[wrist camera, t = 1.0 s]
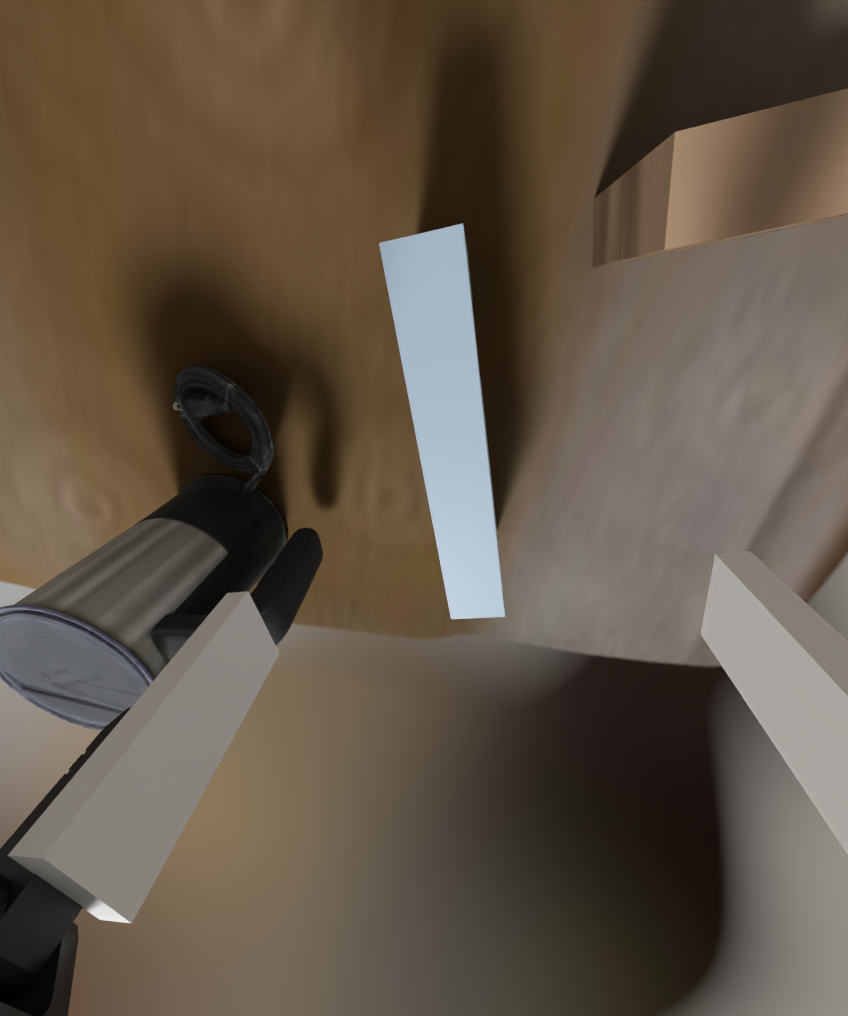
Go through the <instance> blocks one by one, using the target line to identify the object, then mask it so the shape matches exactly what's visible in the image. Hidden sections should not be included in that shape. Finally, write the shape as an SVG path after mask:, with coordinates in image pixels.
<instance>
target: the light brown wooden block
mask: <svg viewBox="0 0 848 1016" xmlns="http://www.w3.org/2000/svg"><path fill="white" fill-rule="evenodd" d="M845 216H848V88H847V89H843V90H839V91H835V92H831V93H827V94H823V95H819V96H815V97H811V98H807V99H803V100H799V101H795V102H791V103H788V104H784V105H780V106H776V107H772V108H768V109H764V110H760V111H756V112H752V113H748V114H744V115H740V116H736V117H732V118H728V119H724V120H720V121H716V122H712V123H709V124H705V125H701V126H697V127H693V128H689V129H685V130H681V131H677V132H674V133H673V134H672V135H671V136H670V137H668V138H667V139H666V140H665V141H664V142H662V143H661V144H660V145H659V146H657V147H656V148H655V149H654V150H653V151H651V152H650V153H649V154H648V155H646V156H645V157H644V158H643V159H642V160H640V161H639V162H638V163H637V164H636V165H634V166H633V167H632V168H631V169H629V170H628V171H627V172H626V173H625V174H623V175H622V176H621V177H620V178H619V179H617V180H616V181H615V182H614V183H612V184H611V185H610V186H609V187H608V188H606V189H605V190H604V191H603V192H601V193H600V194H599V195H598V196H597V197H595V199H594V248H593V267H597V266H602V265H607V264H612V263H617V262H622V261H627V260H632V259H637V258H642V257H647V256H652V255H657V254H662V253H667V252H672V251H677V250H682V249H687V248H692V247H696V246H701V245H706V244H711V243H716V242H721V241H726V240H731V239H736V238H741V237H746V236H751V235H756V234H761V233H766V232H771V231H776V230H781V229H786V228H791V227H796V226H801V225H805V224H810V223H815V222H820V221H825V220H830V219H835V218H840V217H845Z"/></svg>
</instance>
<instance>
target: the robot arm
mask: <svg viewBox="0 0 848 1016" xmlns="http://www.w3.org/2000/svg"><path fill="white" fill-rule="evenodd" d="M701 635H702V637H703V638H704V640H705V641H706V643H707V644H708V646H709V647H710V649H711V650H712V652H713V653H714V655H715V656H716V658H717V659H718V661H719V662H720V664H721V665H722V667H723V668H724V670H725V671H726V673H727V674H728V676H729V677H730V679H731V680H732V682H733V683H734V685H735V686H736V687H737V689H738V690H739V692H740V693H741V695H742V697H743V698H744V700H745V701H746V703H747V704H748V706H749V707H750V709H751V710H752V712H753V713H754V715H755V716H756V718H757V719H758V721H759V722H760V724H761V725H762V727H763V728H764V730H765V731H766V733H767V734H768V736H769V737H770V739H771V740H772V742H773V743H774V745H775V746H776V748H777V749H778V751H779V752H780V754H781V755H782V757H783V758H784V760H785V761H786V763H787V764H788V766H789V767H790V769H791V770H792V772H793V773H794V775H795V776H796V778H797V779H798V781H799V782H800V784H801V785H802V786H803V788H804V790H805V791H806V793H807V794H808V796H809V797H810V798H811V800H812V802H813V803H814V805H815V806H816V807H817V809H818V810H819V812H820V813H821V815H822V817H823V818H824V820H825V821H826V823H827V824H828V826H829V827H830V829H831V830H832V832H833V833H834V834H835V836H836V838H837V839H838V841H839V842H840V844H841V845H842V847H843V848H844V850H845V851H846V853H847V854H848V642H847V641H846V640H845V639H844V638H843V637H842V636H841V635H840V634H839V633H838V632H837V631H836V630H834V629H833V628H832V627H831V626H830V625H829V624H828V623H827V622H826V621H825V620H824V619H823V618H822V617H820V616H819V615H818V614H817V613H816V612H815V611H814V610H813V609H812V608H811V607H810V606H809V605H808V604H807V603H805V602H804V601H803V600H802V599H801V598H800V597H799V596H798V595H797V594H796V593H795V592H794V591H793V590H791V589H790V588H789V587H788V586H787V585H786V584H785V583H784V582H783V581H782V580H781V579H780V578H778V577H777V576H776V575H775V574H774V573H773V572H772V571H771V570H770V569H769V568H768V567H767V566H766V565H764V564H763V563H762V562H761V561H760V560H759V559H758V558H757V557H756V556H755V555H754V554H753V553H752V552H750V551H746V552H734V553H722V554H715V559H714V564H713V570H712V575H711V580H710V586H709V591H708V597H707V602H706V608H705V613H704V618H703V624H702V629H701ZM278 655H279V651H278V649H277V647H276V645H275V643H274V641H273V639H272V637H271V635H270V633H269V631H268V629H267V627H266V625H265V623H264V621H263V619H262V617H261V615H260V613H259V611H258V609H257V608H256V606H255V604H254V602H253V600H252V598H251V596H250V594H249V592H248V591H247V592H235V593H227V594H226V595H225V596H224V597H223V598H222V600H221V601H220V602H219V603H218V604H217V606H216V607H215V608H214V609H213V610H212V612H211V613H210V614H209V615H208V616H207V618H206V619H205V620H204V621H203V622H202V624H201V625H200V626H199V627H198V628H197V630H196V631H195V632H194V633H193V634H192V636H191V637H190V638H189V639H188V640H187V641H186V643H185V644H184V645H183V646H182V647H181V649H180V650H179V651H178V652H177V653H176V655H175V656H174V657H173V658H172V659H171V661H170V662H169V663H168V664H167V665H166V667H165V668H164V669H163V670H162V671H161V673H160V674H159V675H158V676H157V677H156V679H155V680H154V681H153V682H152V683H151V685H150V686H149V687H148V688H147V689H146V691H145V692H144V693H143V694H142V695H141V696H140V698H139V699H138V700H137V701H136V702H135V704H134V705H133V706H132V707H129V708H127V709H126V710H125V711H124V712H122V713H121V714H120V715H119V716H118V717H116V718H115V719H114V720H113V721H112V722H110V723H109V724H108V725H107V726H106V727H105V728H104V729H103V730H102V731H101V732H100V733H99V735H98V736H97V737H96V738H95V739H94V740H93V742H92V743H91V744H90V745H89V746H88V748H87V749H86V752H85V754H83V755H81V756H80V757H79V758H78V759H77V761H75V763H74V764H73V765H72V766H71V767H70V768H69V772H68V774H65V775H63V777H62V778H61V779H60V780H59V781H58V782H57V784H56V785H55V786H54V787H53V788H52V789H51V791H50V792H49V793H48V794H47V795H46V796H45V798H44V799H43V800H42V801H41V802H40V803H39V804H38V806H37V807H36V808H35V809H34V810H33V811H32V813H31V814H30V815H29V816H28V817H27V818H26V820H25V821H24V822H23V823H22V824H21V826H20V827H19V828H18V829H17V830H16V831H15V833H14V834H13V835H12V836H11V837H10V838H9V839H8V841H7V842H6V843H5V844H4V845H3V847H2V848H1V849H0V1016H68V1010H69V1003H70V995H71V988H72V980H73V973H74V966H75V959H76V952H77V945H78V926H77V925H76V924H75V923H74V922H73V921H74V920H75V918H76V917H77V915H78V914H79V912H80V910H81V909H82V908H84V909H85V910H87V911H88V912H89V913H91V914H92V915H94V916H95V917H97V918H98V919H99V920H107V921H116V922H125V923H132V921H133V920H134V918H135V916H136V914H137V912H138V910H139V909H140V907H141V905H142V903H143V901H144V899H145V898H146V896H147V894H148V892H149V890H150V889H151V887H152V885H153V883H154V881H155V880H156V878H157V876H158V874H159V872H160V870H161V869H162V867H163V865H164V863H165V861H166V860H167V858H168V856H169V854H170V852H171V850H172V849H173V847H174V845H175V843H176V841H177V839H178V837H179V836H180V834H181V832H182V830H183V829H184V827H185V825H186V823H187V821H188V819H189V817H190V816H191V814H192V812H193V810H194V808H195V807H196V805H197V803H198V801H199V799H200V797H201V796H202V794H203V792H204V790H205V788H206V787H207V785H208V783H209V781H210V779H211V777H212V776H213V774H214V772H215V770H216V768H217V766H218V764H219V763H220V761H221V759H222V757H223V755H224V754H225V752H226V750H227V748H228V746H229V745H230V743H231V741H232V739H233V737H234V735H235V734H236V732H237V730H238V728H239V726H240V724H241V723H242V721H243V719H244V717H245V715H246V714H247V712H248V710H249V708H250V706H251V704H252V703H253V701H254V699H255V697H256V695H257V693H258V692H259V690H260V688H261V686H262V684H263V683H264V681H265V679H266V677H267V675H268V673H269V671H270V670H271V668H272V666H273V664H274V662H275V661H276V659H277V657H278Z"/></svg>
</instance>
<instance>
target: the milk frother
mask: <svg viewBox="0 0 848 1016" xmlns="http://www.w3.org/2000/svg"><path fill="white" fill-rule="evenodd" d="M174 397H175V398H176V403H174V404H173V408H174V409H175V410H179V415H180V416H181V418H182V420H183V423H184V425H185V426H186V428H187V430H188V431H189V433H190V434H191V436H192V437H193V438H194V440H195V441H196V442H197V443H198V444H199V446H200V447H201V448H203V449H204V450H205V451H206V452H208V453H209V454H210V455H211V456H212V457H213V458H215V459H217V460H218V461H219V462H221V463H222V464H224V465H226V466H228V467H230V468H232V469H235V470H238V471H241V472H253V473H254V475H253V476H252V477H251V478H250V479H249V480H248V481H247V482H245V481H242V480H240V479H238V478H234V477H231V476H225V475H216V474H213V475H205V476H201V477H198V478H196V479H194V480H192V481H190V482H189V483H188V484H187V485H185V486H184V488H183V489H182V490H181V492H180V493H179V494H178V495H177V496H175V497H174V498H173V499H171V500H170V501H169V502H167V503H166V504H164V505H163V506H161V507H160V508H159V509H157V510H156V511H155V512H153V513H152V514H150V515H149V516H147V517H146V518H144V519H143V520H141V521H139V522H138V523H137V524H135V525H134V526H132V527H131V528H129V529H128V530H126V531H124V532H123V533H121V534H120V535H118V536H117V537H115V538H114V539H112V540H111V541H109V542H108V543H106V544H105V545H103V546H102V547H100V548H99V549H97V550H96V551H94V552H93V553H91V554H90V555H88V556H87V557H85V558H84V559H82V560H81V561H79V562H77V563H76V564H74V565H73V566H71V567H70V568H68V569H67V570H65V571H64V572H62V573H61V574H59V575H58V576H56V577H55V578H53V579H52V580H50V581H49V582H47V583H46V584H44V585H43V586H41V587H40V588H38V589H37V590H35V591H34V592H33V593H31V594H29V595H28V596H26V597H25V598H23V599H22V600H20V601H19V602H17V603H16V604H14V605H10V606H5V607H1V608H0V678H1V679H2V680H3V681H4V682H5V683H7V684H8V685H9V687H10V688H12V689H13V690H15V691H16V692H18V693H19V694H20V695H21V696H22V697H24V698H25V699H27V700H28V701H29V702H31V703H33V704H34V705H36V706H37V707H39V708H41V709H43V710H45V711H47V712H49V713H51V714H52V715H54V716H57V717H59V718H60V719H63V720H67V721H68V722H71V723H74V724H78V725H81V726H83V727H86V728H90V729H95V730H103V729H104V728H105V727H106V726H107V725H108V724H109V723H110V722H112V721H113V720H114V719H115V718H116V717H118V716H119V715H120V714H121V713H122V712H124V711H125V710H126V709H127V708H129V707H132V706H133V705H134V704H135V702H136V701H137V700H138V699H139V698H140V696H141V695H142V694H143V693H144V692H145V691H146V689H147V688H148V687H149V686H150V685H151V683H152V682H153V681H154V680H155V679H156V677H157V676H158V675H159V674H160V673H161V671H162V670H163V669H164V668H165V667H166V665H167V664H168V663H169V662H170V661H171V659H172V658H173V657H174V656H175V655H176V653H177V652H178V651H179V650H180V649H181V647H182V646H183V645H184V644H185V643H186V641H187V640H188V639H189V638H190V637H191V636H192V634H193V633H194V632H195V631H196V630H197V628H198V627H199V626H200V625H201V624H202V622H203V621H204V620H205V619H206V618H207V616H208V615H209V614H210V613H211V612H212V610H213V609H214V608H215V607H216V606H217V604H218V603H219V602H220V601H221V600H222V598H223V597H224V596H225V595H226V594H227V593H235V592H247V591H248V592H249V591H250V589H251V588H252V587H253V586H254V585H255V584H256V583H257V581H258V580H259V579H260V578H261V577H262V576H263V574H264V573H265V572H266V573H265V574H264V576H263V577H262V578H261V580H260V581H259V583H258V585H257V587H256V588H255V589H254V591H253V592H252V593H251V594H250V596H251V598H252V600H253V602H254V604H255V606H256V608H257V609H258V611H259V613H260V615H261V617H262V619H263V621H264V623H265V625H266V627H267V629H268V631H269V633H270V635H271V637H272V639H273V641H274V643H275V645H277V644H278V643H279V642H280V641H281V640H282V639H283V637H284V636H285V635H286V633H287V631H288V630H289V628H290V626H291V624H292V622H293V620H294V618H295V616H296V614H297V612H298V609H299V608H300V606H301V604H302V601H303V599H304V597H305V595H306V593H307V591H308V589H309V587H310V585H311V583H312V581H313V578H314V576H315V574H316V572H317V570H318V568H319V565H320V563H321V561H322V558H323V552H322V546H321V543H320V539H319V536H318V534H317V532H316V531H315V530H313V529H311V528H302V529H298V530H297V531H296V532H295V533H294V534H293V535H292V537H291V538H290V539H289V541H288V542H287V543H286V541H287V535H286V529H285V524H284V521H283V519H282V517H281V515H280V513H279V511H278V510H277V508H276V507H275V505H274V504H273V503H272V502H271V500H270V499H269V498H268V497H266V496H265V495H264V494H263V493H262V492H261V491H260V490H258V489H257V488H256V486H257V485H258V483H259V482H260V481H261V480H262V478H263V477H264V475H265V474H266V472H267V470H268V469H269V467H270V465H271V462H272V460H273V457H274V442H273V437H272V433H271V430H270V427H269V425H268V423H267V421H266V419H265V417H264V415H263V414H262V412H261V411H260V409H259V408H258V406H257V405H256V404H255V402H254V401H253V400H252V399H251V398H250V397H249V396H248V395H247V393H246V392H245V391H244V390H242V389H241V388H240V387H239V386H238V385H237V384H236V383H235V382H233V381H232V380H231V379H230V378H228V377H226V376H225V375H223V374H222V373H220V372H219V371H217V370H214V369H212V368H209V367H205V366H193V367H190V368H186V369H184V370H183V371H182V372H180V373H179V374H178V376H177V378H176V380H175V386H174ZM226 412H227V413H232V412H236V413H237V414H238V415H239V416H240V418H241V419H242V420H243V422H244V424H245V425H246V426H247V428H248V431H249V432H250V435H251V438H252V450H251V453H250V455H248V456H244V455H240V454H237V453H234V452H232V451H231V450H229V449H227V448H225V447H224V446H223V445H221V444H220V443H219V442H218V441H217V440H216V439H215V438H213V437H212V435H211V434H210V433H209V432H208V431H207V430H206V429H205V427H204V426H203V425H202V423H201V422H200V421H201V420H203V419H205V418H208V417H209V416H212V415H216V416H220V415H222V414H225V413H226Z"/></svg>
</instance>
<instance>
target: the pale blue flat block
mask: <svg viewBox="0 0 848 1016" xmlns="http://www.w3.org/2000/svg"><path fill="white" fill-rule="evenodd" d="M379 246H380V251H381V256H382V261H383V267H384V272H385V277H386V282H387V287H388V293H389V298H390V303H391V308H392V313H393V319H394V324H395V329H396V334H397V340H398V345H399V350H400V355H401V360H402V366H403V371H404V376H405V381H406V386H407V392H408V397H409V402H410V407H411V413H412V418H413V423H414V428H415V433H416V439H417V444H418V449H419V454H420V459H421V465H422V470H423V475H424V480H425V486H426V491H427V496H428V501H429V506H430V512H431V517H432V522H433V527H434V532H435V538H436V543H437V548H438V553H439V559H440V564H441V569H442V574H443V579H444V585H445V590H446V595H447V600H448V605H449V611H450V616H451V619H466V618H487V617H505V612H504V601H503V590H502V580H501V569H500V558H499V548H498V537H497V527H496V517H495V508H494V498H493V489H492V479H491V470H490V460H489V451H488V441H487V432H486V422H485V412H484V403H483V393H482V384H481V377H480V370H479V361H478V352H477V342H476V333H475V323H474V314H473V304H472V289H471V279H470V270H469V260H468V251H467V245H466V238H465V232H464V226H463V224H458V225H454V226H450V227H446V228H441V229H437V230H433V231H429V232H424V233H420V234H416V235H412V236H407V237H403V238H399V239H395V240H390V241H386V242H382V243H379Z"/></svg>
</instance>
